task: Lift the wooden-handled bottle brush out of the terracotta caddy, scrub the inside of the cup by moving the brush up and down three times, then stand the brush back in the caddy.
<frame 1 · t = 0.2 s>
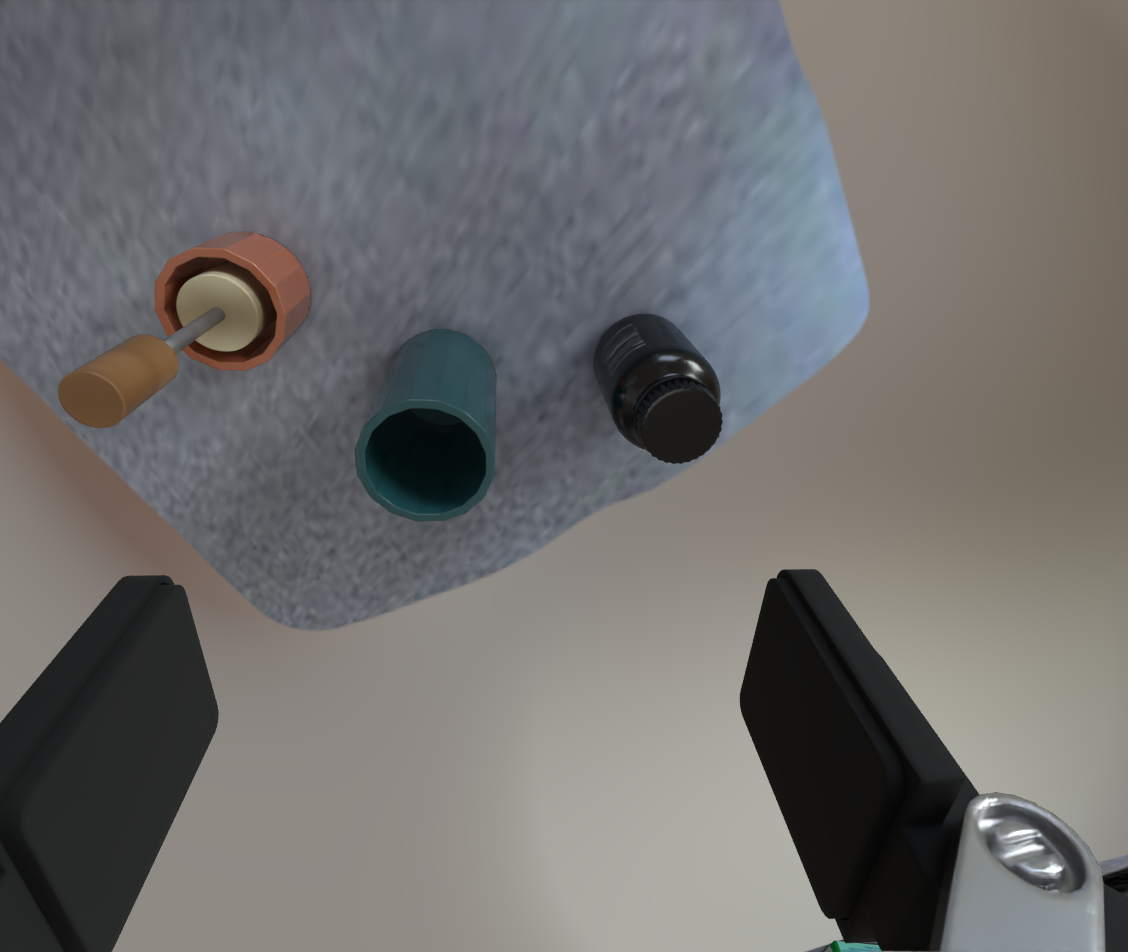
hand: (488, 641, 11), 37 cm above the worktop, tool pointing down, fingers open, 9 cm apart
cup: (444, 380, 47), on the worktop
supplement bottle: (639, 357, 47), on the worktop
caddy: (255, 288, 43), on the worktop
brush: (252, 290, 42), resting on caddy
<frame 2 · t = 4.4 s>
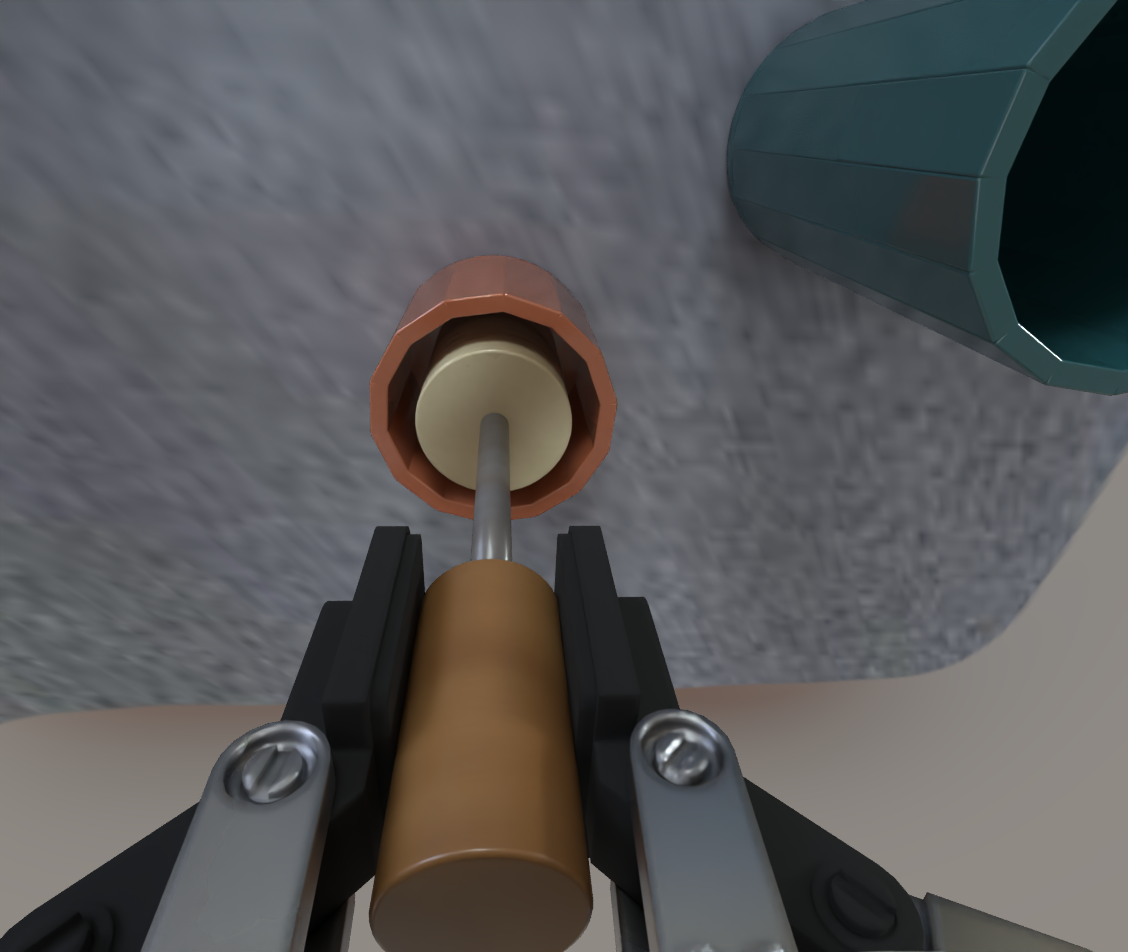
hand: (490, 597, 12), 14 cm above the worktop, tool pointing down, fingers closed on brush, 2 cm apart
cup: (836, 145, 22), on the worktop
caddy: (496, 353, 24), on the worktop
brush: (496, 358, 24), point 1 cm above the worktop, touching caddy, gripper
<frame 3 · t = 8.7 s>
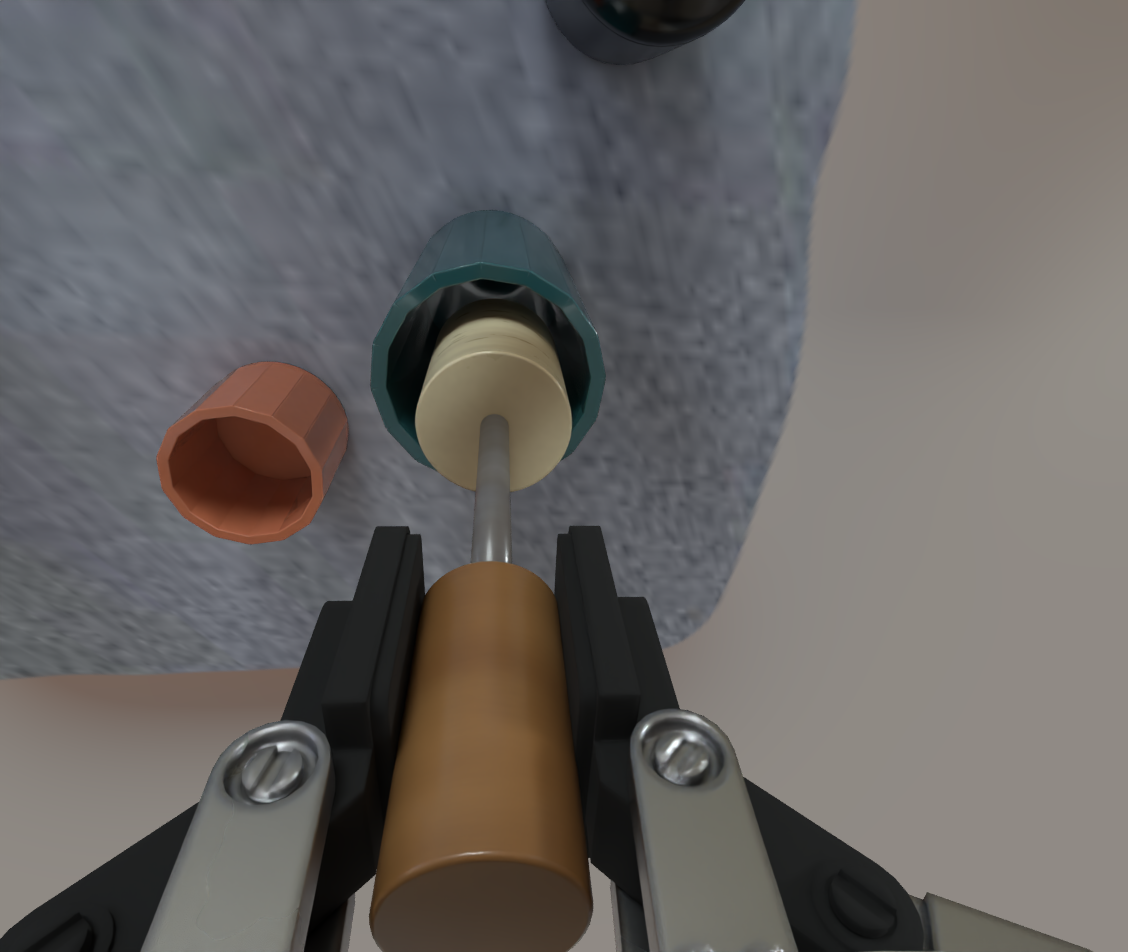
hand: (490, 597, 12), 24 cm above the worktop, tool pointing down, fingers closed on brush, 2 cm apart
cup: (492, 290, 32), on the worktop
caddy: (280, 424, 35), on the worktop
brush: (496, 359, 24), point 10 cm above the worktop, touching gripper
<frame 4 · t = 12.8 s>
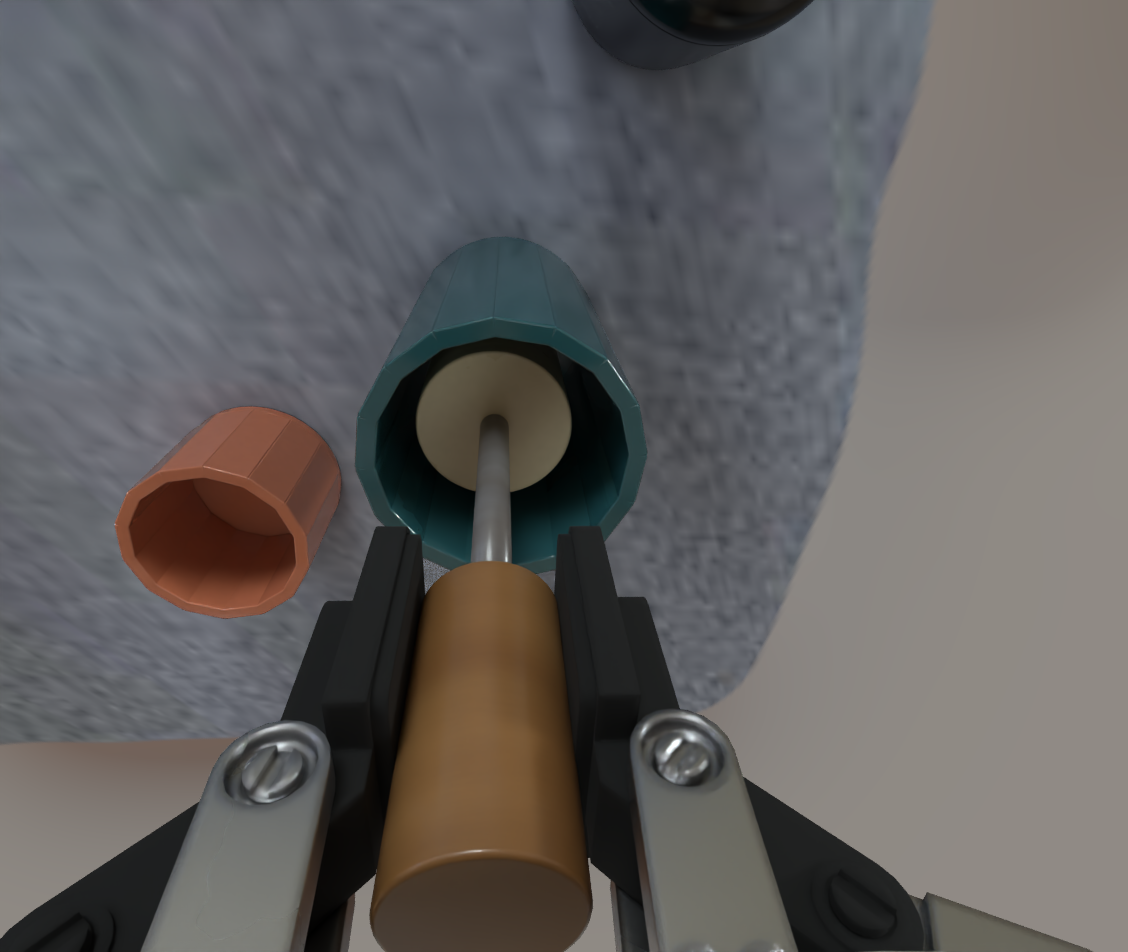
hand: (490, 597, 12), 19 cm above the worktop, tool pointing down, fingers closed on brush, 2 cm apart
cup: (505, 326, 28), on the worktop
caddy: (264, 475, 31), on the worktop
brush: (496, 359, 24), point 5 cm above the worktop, touching gripper
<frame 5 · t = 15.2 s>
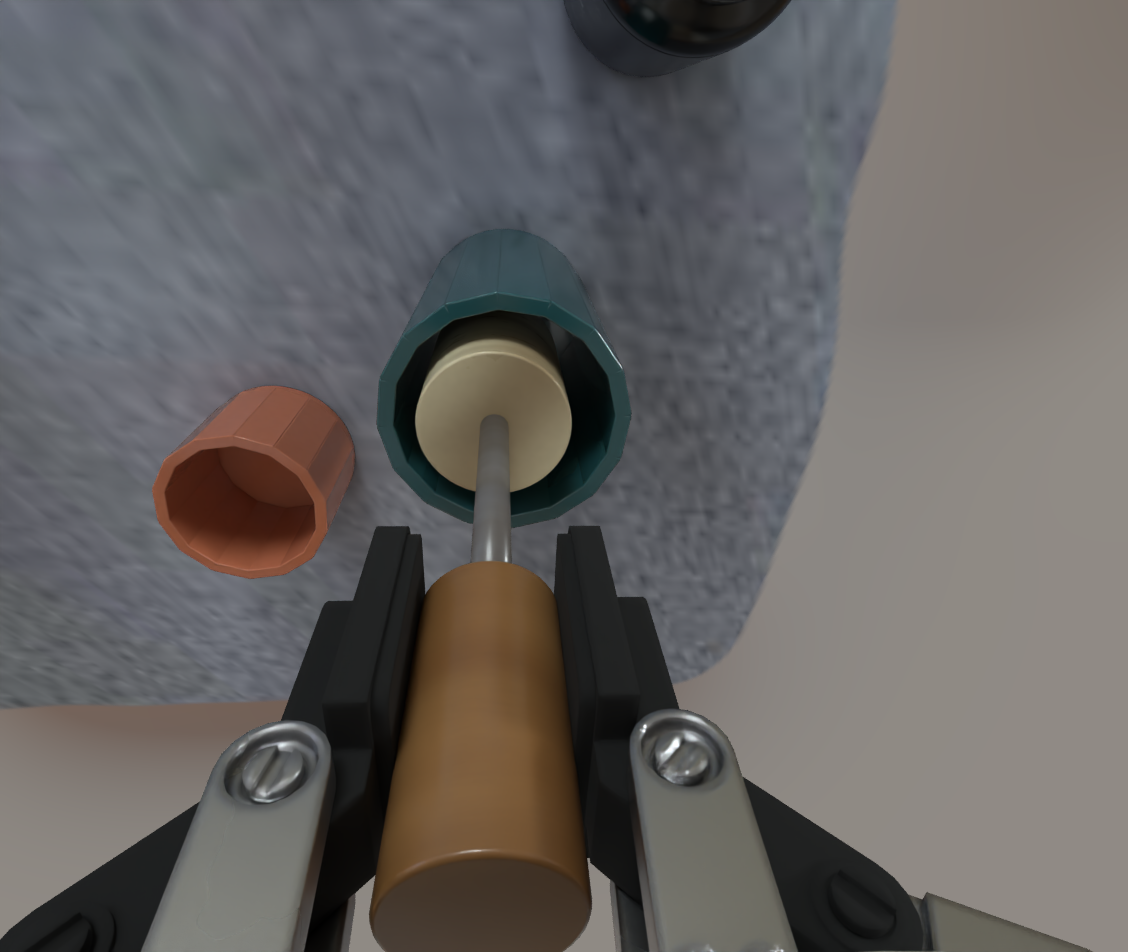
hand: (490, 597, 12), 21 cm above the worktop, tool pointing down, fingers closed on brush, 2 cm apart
cup: (506, 312, 31), on the worktop
caddy: (284, 450, 33), on the worktop
brush: (496, 359, 24), point 8 cm above the worktop, touching gripper
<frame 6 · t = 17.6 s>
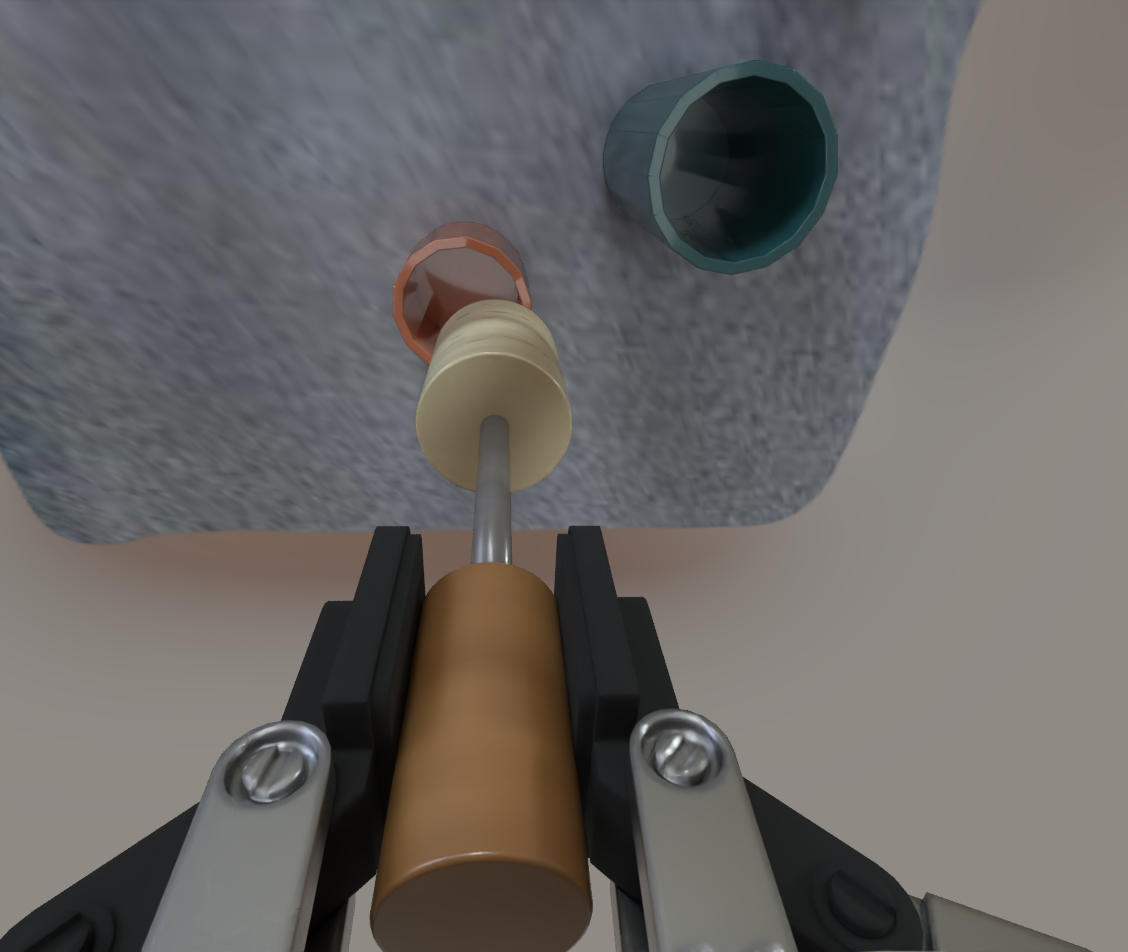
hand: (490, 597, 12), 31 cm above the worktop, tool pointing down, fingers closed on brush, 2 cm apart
cup: (668, 158, 37), on the worktop
caddy: (467, 284, 39), on the worktop
brush: (496, 359, 24), point 17 cm above the worktop, touching gripper
when the fingers open (14 cm above the worktop, at t = 21.6 s): brush stays where it is, resting on caddy.
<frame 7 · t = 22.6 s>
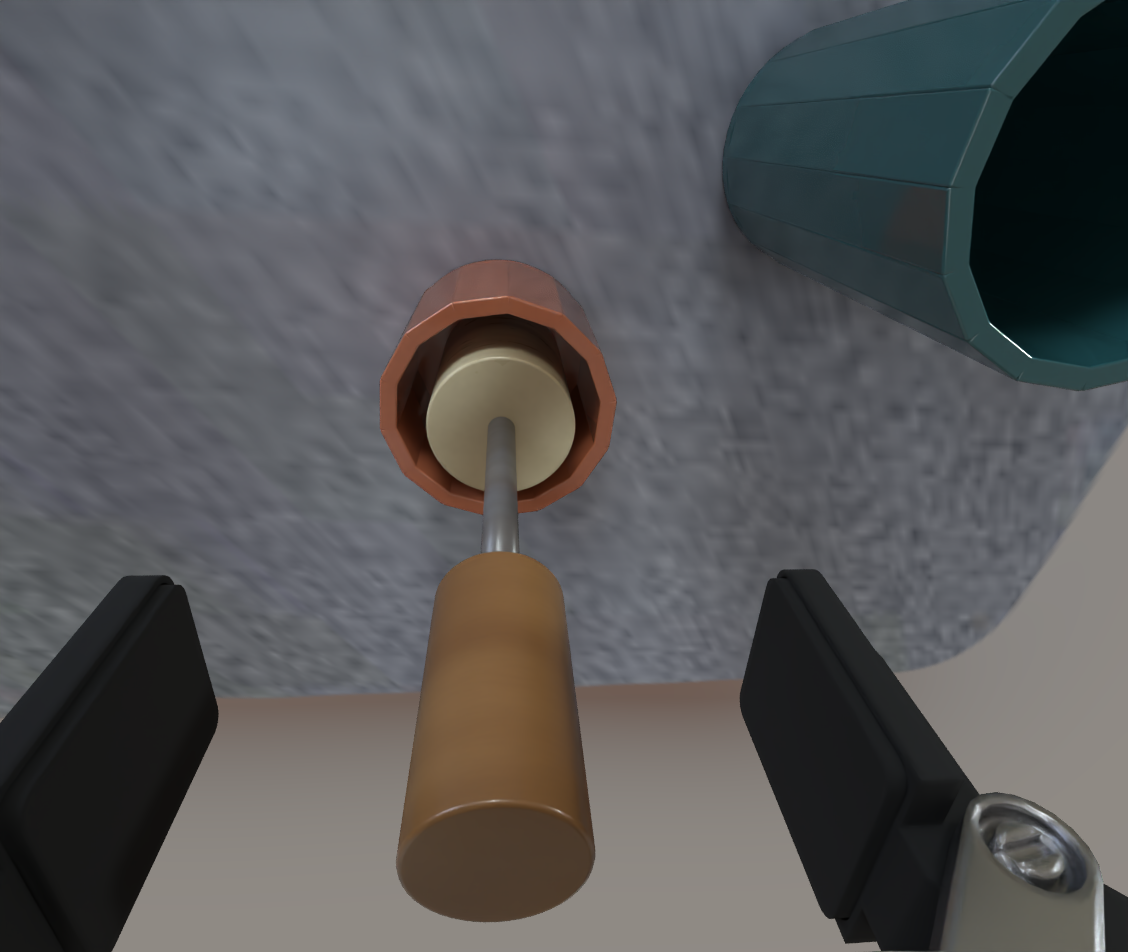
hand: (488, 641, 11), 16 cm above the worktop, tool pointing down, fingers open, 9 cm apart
cup: (827, 154, 23), on the worktop
caddy: (500, 354, 25), on the worktop
brush: (502, 364, 25), resting on caddy
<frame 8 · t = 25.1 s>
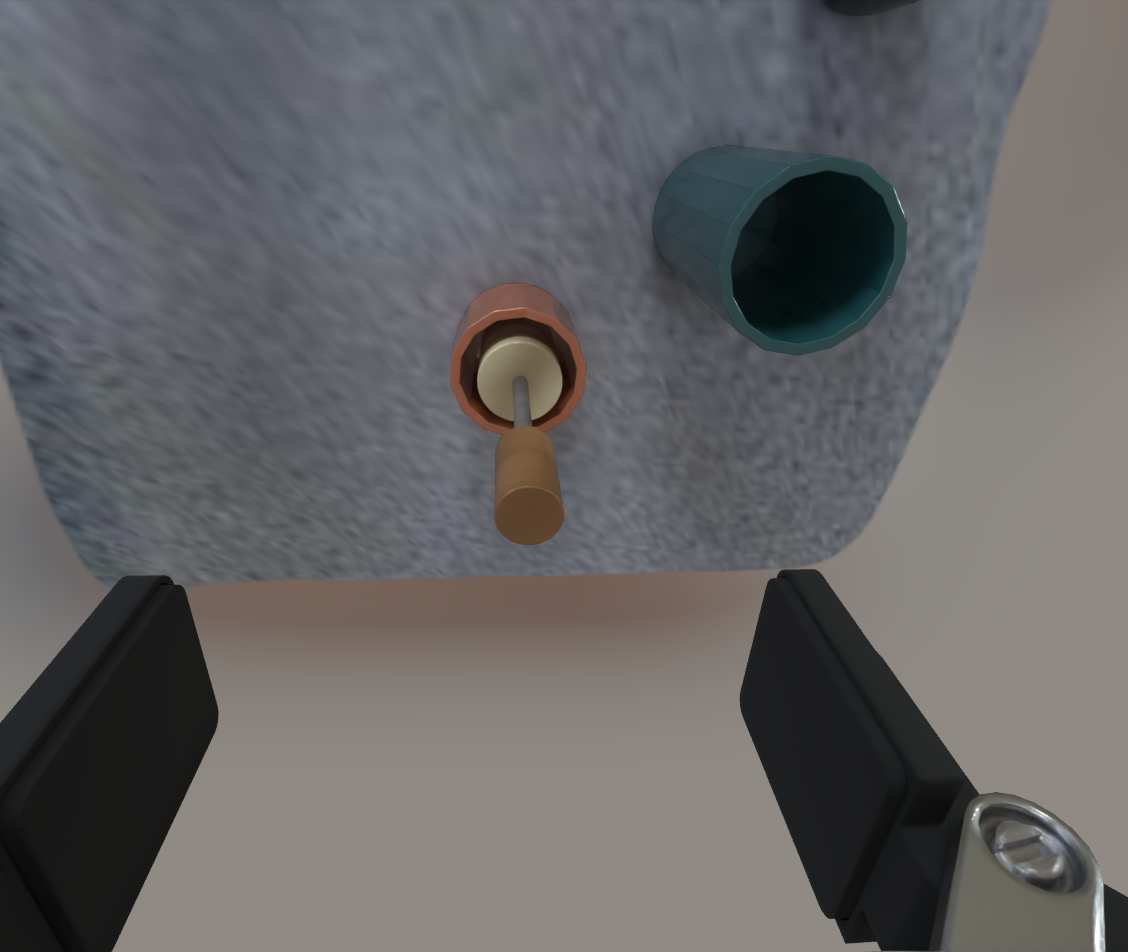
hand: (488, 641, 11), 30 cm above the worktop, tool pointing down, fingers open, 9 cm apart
cup: (717, 219, 37), on the worktop
caddy: (516, 342, 39), on the worktop
brush: (517, 347, 39), resting on caddy
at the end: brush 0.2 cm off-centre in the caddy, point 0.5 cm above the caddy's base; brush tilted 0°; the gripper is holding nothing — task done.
